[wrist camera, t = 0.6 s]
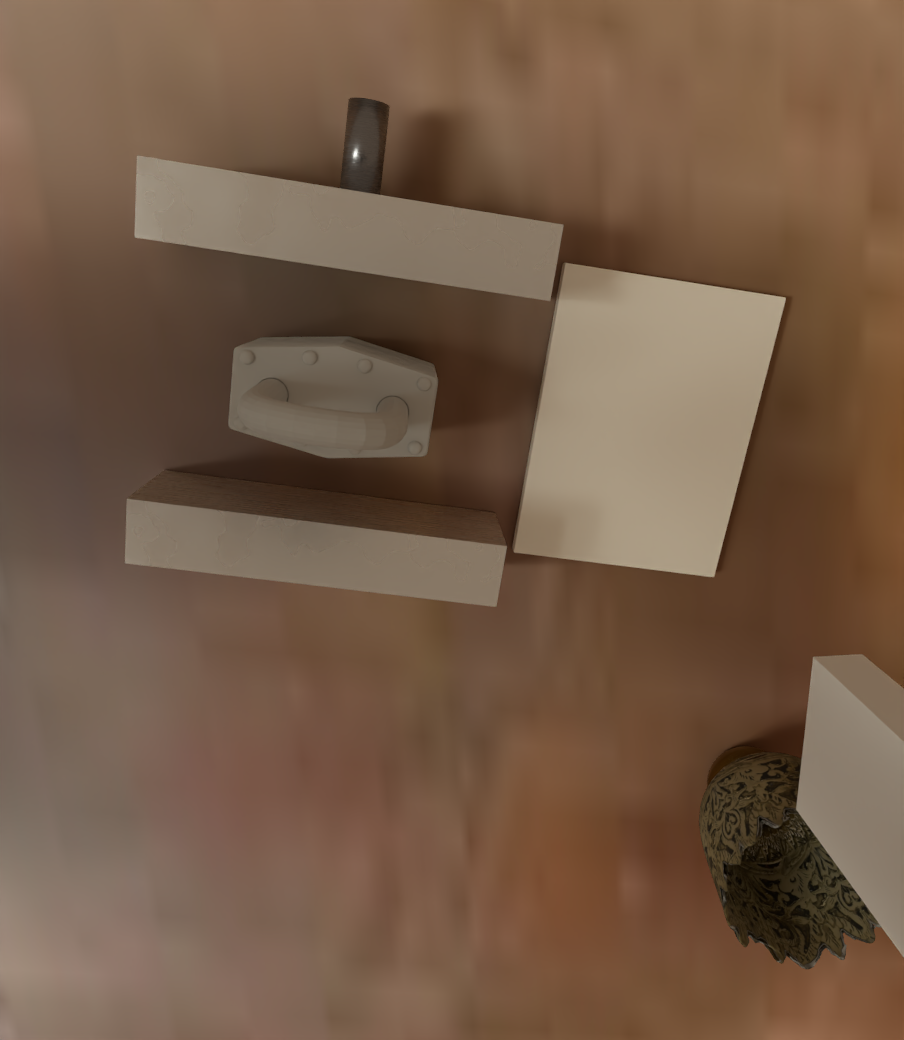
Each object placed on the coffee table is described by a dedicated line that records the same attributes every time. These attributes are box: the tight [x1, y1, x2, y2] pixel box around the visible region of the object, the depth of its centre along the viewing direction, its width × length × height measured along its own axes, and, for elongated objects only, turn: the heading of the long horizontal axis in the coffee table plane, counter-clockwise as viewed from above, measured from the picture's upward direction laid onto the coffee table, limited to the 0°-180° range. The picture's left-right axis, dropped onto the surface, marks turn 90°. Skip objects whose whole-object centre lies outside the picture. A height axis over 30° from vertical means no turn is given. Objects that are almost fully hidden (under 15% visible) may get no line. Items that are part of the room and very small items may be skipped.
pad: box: [512, 263, 786, 577], centre depth 33 cm, size 9×12×1 cm
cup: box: [699, 746, 881, 969], centre depth 35 cm, size 8×7×8 cm
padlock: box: [228, 336, 438, 458], centre depth 27 cm, size 7×4×10 cm, turn 81°
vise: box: [125, 98, 564, 607], centre depth 29 cm, size 14×17×4 cm
